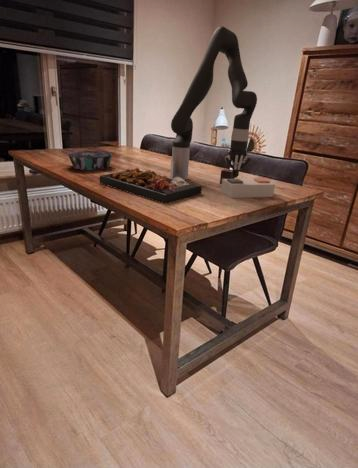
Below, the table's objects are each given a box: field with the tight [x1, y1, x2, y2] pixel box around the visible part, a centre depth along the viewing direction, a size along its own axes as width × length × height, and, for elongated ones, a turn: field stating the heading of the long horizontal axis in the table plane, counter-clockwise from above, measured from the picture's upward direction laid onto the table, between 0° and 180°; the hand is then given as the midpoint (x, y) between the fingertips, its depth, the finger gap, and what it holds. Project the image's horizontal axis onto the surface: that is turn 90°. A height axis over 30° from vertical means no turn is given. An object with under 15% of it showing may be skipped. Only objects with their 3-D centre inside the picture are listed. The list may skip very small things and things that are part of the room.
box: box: [219, 168, 236, 185], centre depth 174 cm, size 6×6×7 cm
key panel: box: [220, 178, 276, 199], centre depth 157 cm, size 22×12×6 cm, turn 105°
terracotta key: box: [253, 177, 271, 183], centre depth 158 cm, size 6×6×4 cm
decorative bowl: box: [67, 149, 114, 171], centre depth 195 cm, size 26×28×10 cm
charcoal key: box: [227, 178, 243, 184], centre depth 154 cm, size 6×6×4 cm
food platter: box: [99, 167, 203, 204], centre depth 156 cm, size 45×25×10 cm, turn 49°
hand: (234, 177), depth 153 cm, fingers closed
